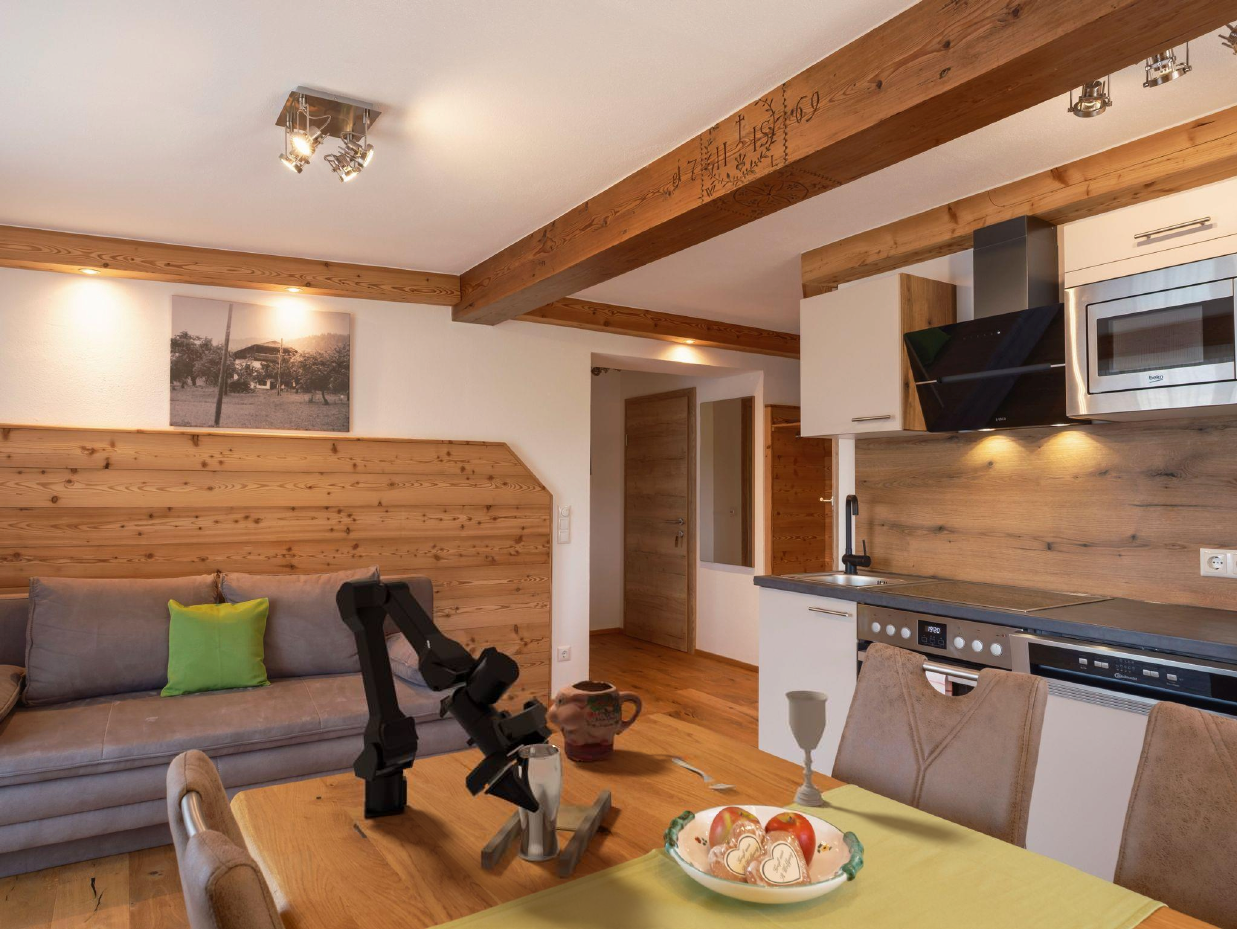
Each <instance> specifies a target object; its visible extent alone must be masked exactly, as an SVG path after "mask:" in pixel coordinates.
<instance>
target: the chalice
mask: <svg viewBox="0 0 1237 929" xmlns="http://www.w3.org/2000/svg"><path fill="white" fill-rule="evenodd" d="M785 698H786V699H787V701H788V723H789V724H788V725H789V727H790V730H791V733H792V735H793V738H794V739H795V741H796V743H797V745H798V747H799V748H800V749H802V750H804V759H803V760H802V762H803V763H804V770H803V771H802V773H803V774H804V778H805V780H804V783H803V784H801V785H800V786H799V787H798V788H797V791H796V793H795V796H794V798H793V802H794V803H796V805H797V804H798V805H800V806H803V807H809V806H815V807H819V805H820V806H822V805H823V804H824V802H825V801H824V799H823V797H822V794H821V792H820V789H819V788H818V787H817V786H816V785H814V784H813V782H812V777H813V775H814V773H815V772H814V771H813V770H812V764H813V762H814V761H813V759H812V751H813V750H816V749H817V748H818V745H819V743H820V741H821V739H822V738H823V735H824V732H825V728H826V726H827V723H826V722H827V717H826V716H827V715H826V713H827V712H826V709H827V708H826V702H827V701H828V700H829V695H827V694H826V693H824V692H819V691H812V690H792V691H788V692H786V693H785Z"/></svg>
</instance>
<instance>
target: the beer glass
mask: <svg viewBox="0 0 1237 929" xmlns="http://www.w3.org/2000/svg"><path fill="white" fill-rule="evenodd" d="M561 754H562V753H561V748H560V747H559V746H556V745H553V744H533V745H528V746H524V747H522V748H520V749H518V751H517V761H518V764H519V776H520V778H521V779H522V781H523V782H524V784H525V785H526V787H527V788H528V790H529V791H530V793H531V794H532V796H533V797H534V799H535V800H536V802H537V804H538V806H539V810H538V811H537V812H536V813H533V812H530V811H528V810H526V809H524V808H522V807H520V806H517V807H518V808H519V813H520V819H521V829H522V830H521V833H520V841H519V845H518V855H519V856H520V857H521V858H522V859H523V860H525V861H529V862H546V861H550V860H552V859H555V858H556V857H557V856H558V855H559V854H560V849H561V848H560V844H559V839H558V829H557V818H558V812H559V806H560V804H561V799H562V789H563V765H562V755H561ZM517 761H516V760H515V763H516V762H517ZM518 808H517V809H518Z"/></svg>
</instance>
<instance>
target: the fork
mask: <svg viewBox="0 0 1237 929" xmlns="http://www.w3.org/2000/svg"><path fill="white" fill-rule="evenodd" d="M671 758H672V760H671V762H673V763H675V764H677V765H679V766H681V767H683V768H686V769H689V770H691V771H694V772H697V773H699V774H700V775H701V776H702V777H703V780H704V783H709V782H715V781H716V780H715V779H713V778H711V777H709V775H707V774H706V773H705V772H704V771H702V770H700V769H698V768H695V767H694V766H691V765H690V764H688V763H686V762H684V761H682V760H680V759H679V758H676V757H671ZM708 787H709V788H711V789H715V790H723V789H730V788H734V787H735V788H736V787H737V785H732V784H731V785H729V784H724V783H719V784H714V785H712V786H711V785H709V786H708Z"/></svg>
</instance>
